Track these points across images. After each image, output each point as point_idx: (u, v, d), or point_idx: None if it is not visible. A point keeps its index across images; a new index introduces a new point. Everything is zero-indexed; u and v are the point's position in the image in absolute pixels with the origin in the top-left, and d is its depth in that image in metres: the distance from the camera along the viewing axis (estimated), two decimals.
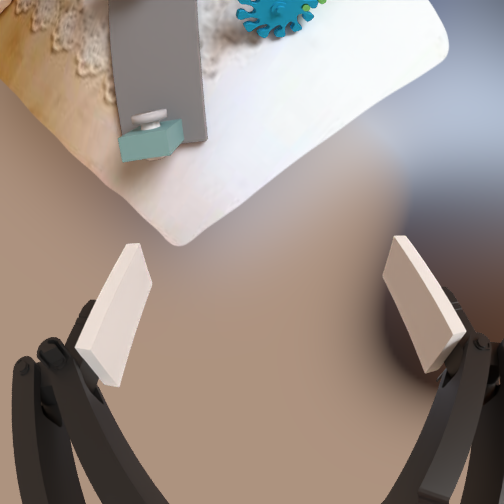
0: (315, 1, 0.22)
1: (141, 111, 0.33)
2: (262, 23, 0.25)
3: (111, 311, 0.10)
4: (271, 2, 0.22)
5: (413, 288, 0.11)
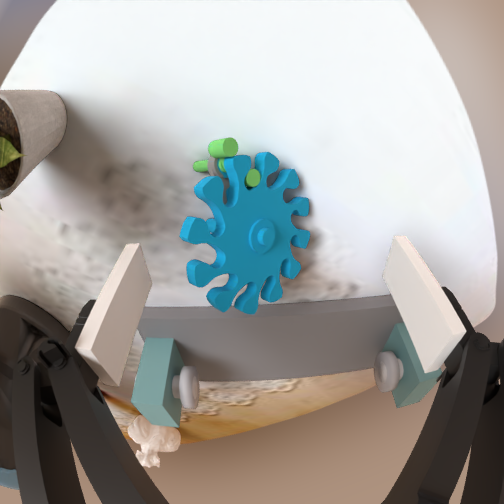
0: (235, 163, 0.15)
1: (366, 355, 0.30)
2: (288, 251, 0.19)
3: (111, 311, 0.10)
4: (251, 257, 0.17)
5: (413, 288, 0.11)
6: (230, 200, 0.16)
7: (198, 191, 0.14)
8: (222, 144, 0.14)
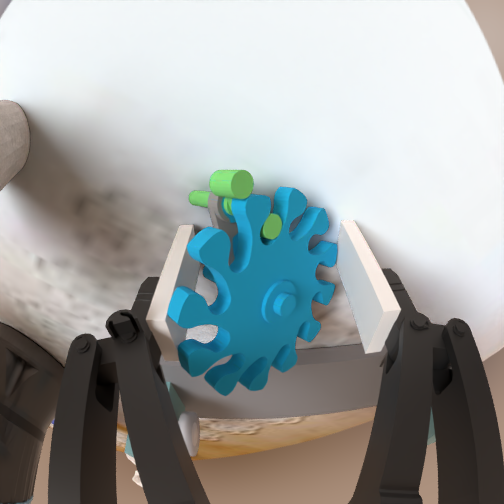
0: (249, 208, 0.10)
1: None
2: (309, 313, 0.15)
3: (177, 285, 0.11)
4: (264, 330, 0.12)
5: (354, 269, 0.13)
6: (239, 258, 0.11)
7: (193, 253, 0.10)
8: (231, 181, 0.09)
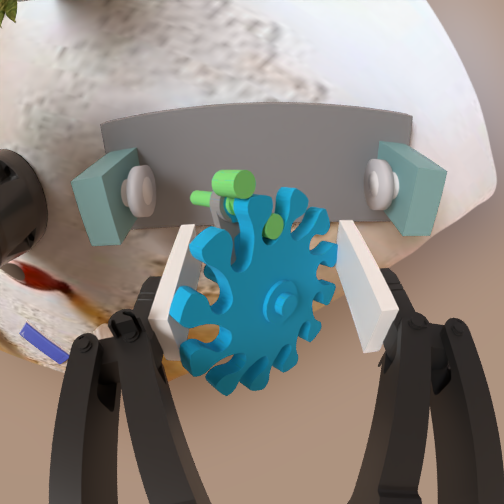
0: (251, 208, 0.10)
1: (355, 191, 0.27)
2: (309, 313, 0.15)
3: (179, 284, 0.11)
4: (265, 330, 0.12)
5: (353, 269, 0.13)
6: (240, 258, 0.11)
7: (195, 252, 0.10)
8: (234, 182, 0.09)
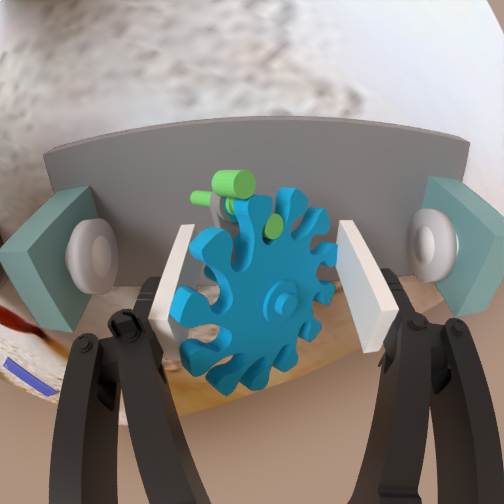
0: (251, 208, 0.10)
1: (390, 242, 0.19)
2: (309, 313, 0.15)
3: (179, 284, 0.11)
4: (265, 330, 0.12)
5: (353, 268, 0.13)
6: (240, 258, 0.11)
7: (196, 252, 0.10)
8: (233, 181, 0.09)
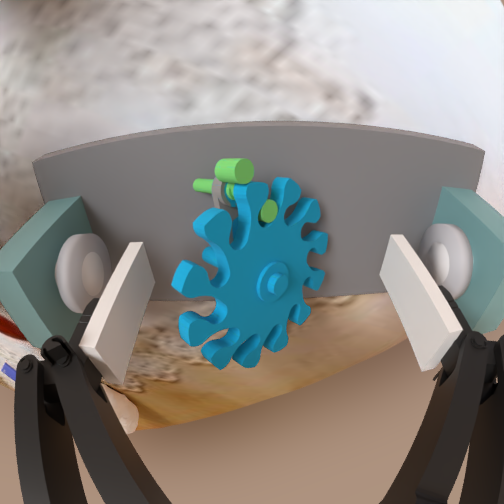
0: (249, 193, 0.11)
1: None
2: (300, 296, 0.16)
3: (115, 309, 0.10)
4: (258, 307, 0.14)
5: (410, 286, 0.11)
6: (238, 238, 0.12)
7: (198, 229, 0.11)
8: (235, 168, 0.11)
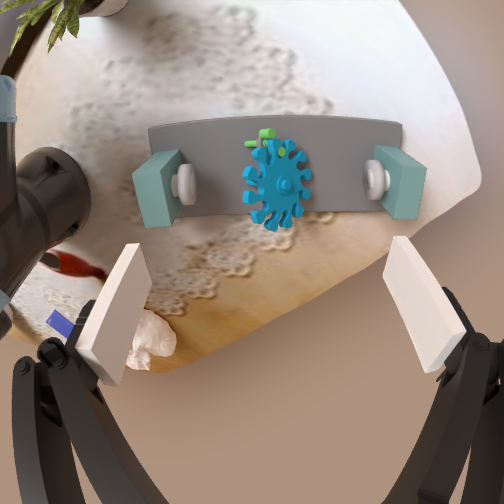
0: (273, 142, 0.27)
1: (356, 186, 0.33)
2: (297, 198, 0.31)
3: (111, 311, 0.10)
4: (277, 195, 0.29)
5: (413, 288, 0.11)
6: (268, 162, 0.28)
7: (254, 153, 0.26)
8: (268, 131, 0.26)
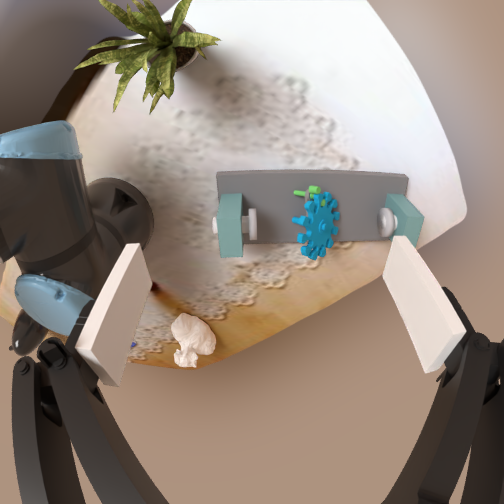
0: (319, 196, 0.37)
1: (371, 223, 0.44)
2: (330, 235, 0.42)
3: (111, 311, 0.10)
4: (318, 235, 0.40)
5: (413, 288, 0.11)
6: (314, 210, 0.38)
7: (306, 206, 0.37)
8: (316, 189, 0.37)
